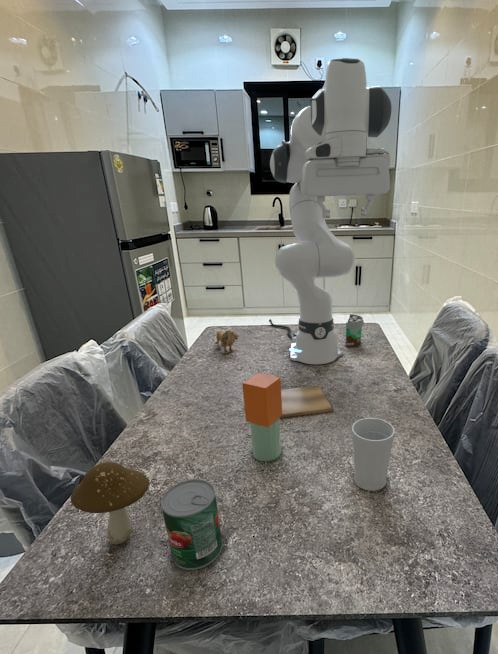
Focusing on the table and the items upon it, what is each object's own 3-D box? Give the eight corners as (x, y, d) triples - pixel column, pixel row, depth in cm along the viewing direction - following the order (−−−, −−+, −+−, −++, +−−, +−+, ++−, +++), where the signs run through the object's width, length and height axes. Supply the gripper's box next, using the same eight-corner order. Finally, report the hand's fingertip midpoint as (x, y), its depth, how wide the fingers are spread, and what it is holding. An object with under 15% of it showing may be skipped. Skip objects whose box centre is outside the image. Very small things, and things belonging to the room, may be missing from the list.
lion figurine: (242, 352, 142) (240, 329, 138) (230, 356, 138) (227, 333, 135) (220, 343, 151) (218, 321, 148) (208, 346, 148) (206, 324, 144)
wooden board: (272, 393, 111) (272, 390, 111) (319, 388, 114) (319, 385, 114) (279, 418, 99) (279, 414, 98) (332, 411, 102) (332, 407, 101)
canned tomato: (161, 561, 60) (148, 507, 55) (192, 524, 67) (182, 474, 62) (204, 577, 57) (194, 521, 53) (232, 537, 64) (225, 485, 60)
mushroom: (151, 560, 60) (131, 484, 54) (76, 565, 60) (48, 489, 54) (167, 516, 69) (152, 446, 63) (102, 520, 68) (80, 450, 62)
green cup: (251, 446, 88) (248, 412, 84) (278, 443, 89) (276, 409, 85) (254, 463, 82) (251, 427, 78) (283, 459, 83) (281, 423, 80)
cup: (343, 473, 79) (344, 423, 74) (376, 463, 81) (379, 414, 77) (362, 498, 72) (365, 445, 67) (398, 486, 75) (403, 434, 70)
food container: (361, 349, 143) (362, 323, 139) (345, 348, 144) (346, 322, 140) (364, 338, 154) (365, 314, 150) (349, 337, 155) (349, 313, 151)
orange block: (245, 421, 81) (242, 382, 77) (260, 409, 85) (257, 372, 82) (268, 427, 78) (265, 388, 75) (282, 414, 83) (280, 377, 79)
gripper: (385, 149, 88) (382, 214, 94) (298, 151, 85) (301, 218, 91) (396, 146, 83) (392, 215, 89) (303, 148, 79) (306, 220, 85)
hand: (345, 217), depth 90 cm, fingers open, 8 cm apart
